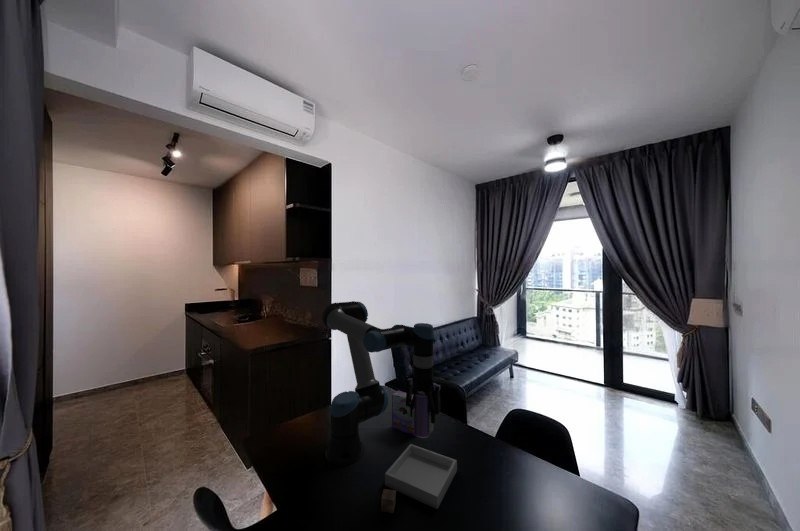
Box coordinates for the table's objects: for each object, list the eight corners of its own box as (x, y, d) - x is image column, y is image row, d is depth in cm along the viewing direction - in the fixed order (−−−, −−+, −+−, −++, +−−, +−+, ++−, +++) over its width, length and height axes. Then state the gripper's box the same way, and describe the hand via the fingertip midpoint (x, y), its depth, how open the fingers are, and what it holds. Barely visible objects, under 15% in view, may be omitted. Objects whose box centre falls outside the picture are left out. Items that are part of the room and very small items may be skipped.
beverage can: (426, 440, 97) (426, 397, 97) (411, 435, 100) (411, 393, 100) (433, 432, 102) (433, 391, 102) (419, 427, 105) (419, 388, 105)
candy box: (421, 431, 131) (422, 396, 131) (415, 437, 126) (416, 400, 126) (397, 422, 138) (398, 389, 139) (391, 427, 133) (391, 393, 134)
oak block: (381, 511, 86) (381, 498, 86) (383, 501, 90) (384, 488, 90) (393, 513, 85) (393, 500, 85) (395, 503, 89) (395, 490, 89)
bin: (384, 485, 96) (384, 473, 97) (410, 453, 114) (410, 443, 114) (437, 509, 87) (437, 496, 87) (456, 471, 104) (456, 460, 104)
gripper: (396, 364, 103) (395, 426, 102) (443, 373, 94) (443, 441, 93) (405, 359, 110) (405, 417, 109) (450, 367, 100) (450, 431, 100)
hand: (422, 428), depth 101 cm, fingers closed on beverage can, 6 cm apart
